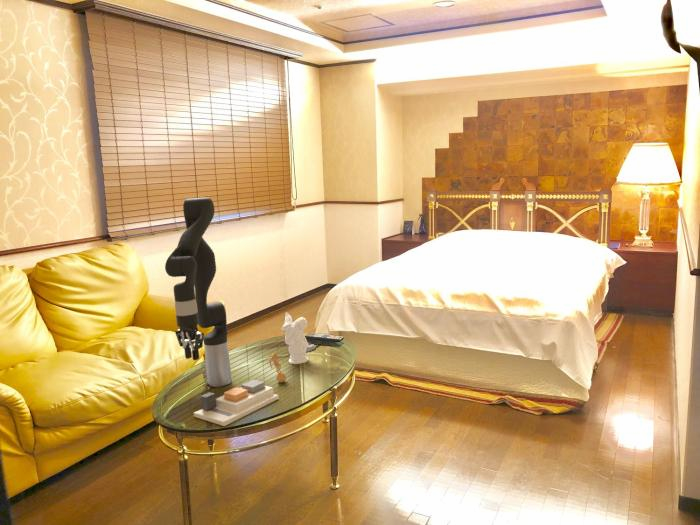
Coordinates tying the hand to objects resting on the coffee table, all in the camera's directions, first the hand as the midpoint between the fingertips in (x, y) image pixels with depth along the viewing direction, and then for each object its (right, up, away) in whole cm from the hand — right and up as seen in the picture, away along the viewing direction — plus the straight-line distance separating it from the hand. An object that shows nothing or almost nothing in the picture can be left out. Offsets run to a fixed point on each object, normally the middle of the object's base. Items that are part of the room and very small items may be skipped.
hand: (192, 358), depth 205 cm
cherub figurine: (+32, -10, +48) cm, 58 cm away
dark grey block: (+6, -17, -1) cm, 19 cm away
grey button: (+21, -14, +8) cm, 26 cm away
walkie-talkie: (+35, -7, +66) cm, 75 cm away
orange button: (+16, -15, +2) cm, 22 cm away
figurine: (+28, -14, +25) cm, 40 cm away
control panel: (+16, -18, +2) cm, 24 cm away
